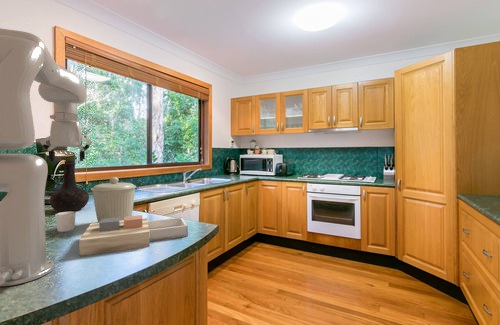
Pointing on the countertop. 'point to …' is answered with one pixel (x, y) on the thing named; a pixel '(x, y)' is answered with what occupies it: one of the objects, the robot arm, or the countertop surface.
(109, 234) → the board
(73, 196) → the dark brown vase
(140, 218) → the terracotta tile
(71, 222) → the shot glass
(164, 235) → the bin
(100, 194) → the canister
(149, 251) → the countertop surface
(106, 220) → the slate tile
